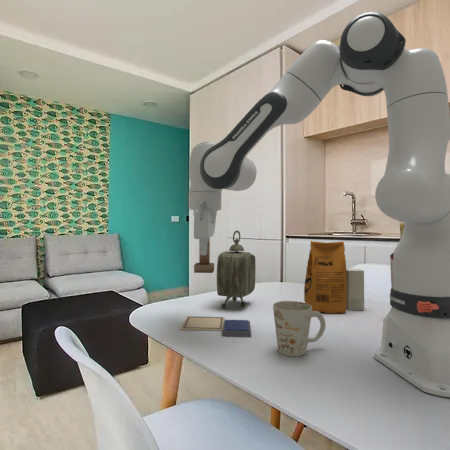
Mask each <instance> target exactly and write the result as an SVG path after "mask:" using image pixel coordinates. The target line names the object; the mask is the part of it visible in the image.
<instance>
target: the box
mask: <svg viewBox="0 0 450 450" xmlns="http://www.w3.org/2000/svg"><path fill="white" fill-rule="evenodd" d="M346 310H349V311H364V310H365V271H364V269H361V268H346Z"/></svg>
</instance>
